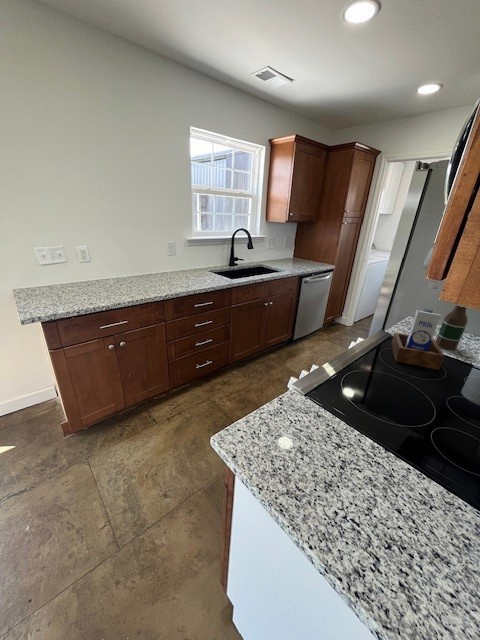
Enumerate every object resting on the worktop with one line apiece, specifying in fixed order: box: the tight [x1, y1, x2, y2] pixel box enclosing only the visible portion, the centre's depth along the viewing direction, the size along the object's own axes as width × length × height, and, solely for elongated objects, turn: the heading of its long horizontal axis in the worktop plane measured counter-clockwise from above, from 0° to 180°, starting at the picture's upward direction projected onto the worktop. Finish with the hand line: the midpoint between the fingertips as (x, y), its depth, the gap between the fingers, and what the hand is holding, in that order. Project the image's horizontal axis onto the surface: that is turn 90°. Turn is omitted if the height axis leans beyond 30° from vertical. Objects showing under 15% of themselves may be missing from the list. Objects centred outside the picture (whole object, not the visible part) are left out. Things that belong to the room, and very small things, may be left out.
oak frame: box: [390, 332, 445, 371], centre depth 105 cm, size 14×14×6 cm
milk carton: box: [405, 308, 442, 351], centre depth 102 cm, size 7×7×20 cm
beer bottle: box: [435, 304, 468, 351], centre depth 110 cm, size 8×8×24 cm
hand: (442, 292), depth 82 cm, fingers open, 8 cm apart
